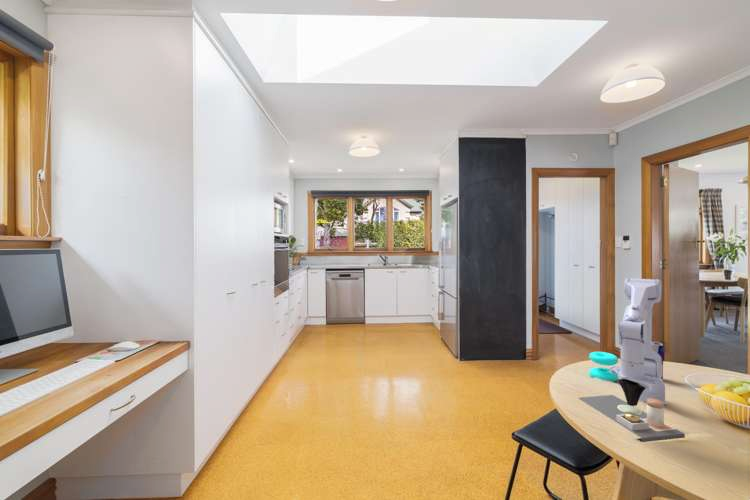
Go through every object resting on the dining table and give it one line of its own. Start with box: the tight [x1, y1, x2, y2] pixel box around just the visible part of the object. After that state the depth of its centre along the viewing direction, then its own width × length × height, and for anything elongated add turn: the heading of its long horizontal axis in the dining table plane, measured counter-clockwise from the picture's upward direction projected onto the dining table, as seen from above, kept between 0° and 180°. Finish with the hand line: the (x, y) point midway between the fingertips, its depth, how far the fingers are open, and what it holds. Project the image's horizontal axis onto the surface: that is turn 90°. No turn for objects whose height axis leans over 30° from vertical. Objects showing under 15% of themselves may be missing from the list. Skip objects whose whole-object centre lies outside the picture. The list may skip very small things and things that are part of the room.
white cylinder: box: [646, 398, 665, 428], centre depth 102 cm, size 4×4×7 cm
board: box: [578, 394, 686, 443], centre depth 108 cm, size 14×25×3 cm, turn 7°
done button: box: [625, 412, 640, 423], centre depth 102 cm, size 4×4×2 cm
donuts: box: [588, 351, 619, 383], centre depth 139 cm, size 10×10×10 cm
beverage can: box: [649, 341, 664, 380], centre depth 138 cm, size 5×5×15 cm
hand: (632, 404), depth 102 cm, fingers closed
